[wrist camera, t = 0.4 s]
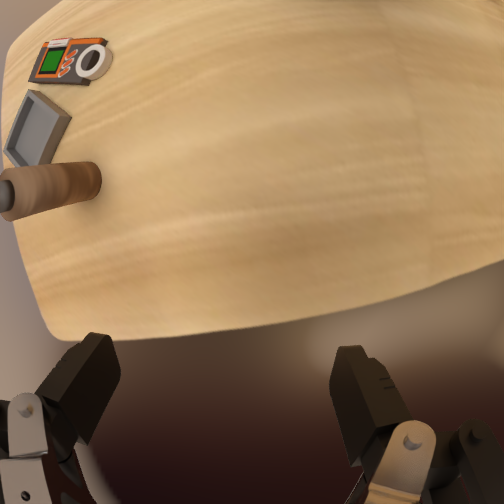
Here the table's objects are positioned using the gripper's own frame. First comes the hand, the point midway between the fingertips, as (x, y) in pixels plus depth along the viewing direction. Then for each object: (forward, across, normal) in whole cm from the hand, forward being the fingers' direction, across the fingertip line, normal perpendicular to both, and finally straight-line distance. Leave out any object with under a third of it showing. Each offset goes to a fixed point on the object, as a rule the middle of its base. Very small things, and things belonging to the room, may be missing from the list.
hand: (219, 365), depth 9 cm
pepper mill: (+23, +19, -5) cm, 30 cm away
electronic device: (+24, +24, -23) cm, 41 cm away
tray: (+24, +30, -13) cm, 40 cm away
